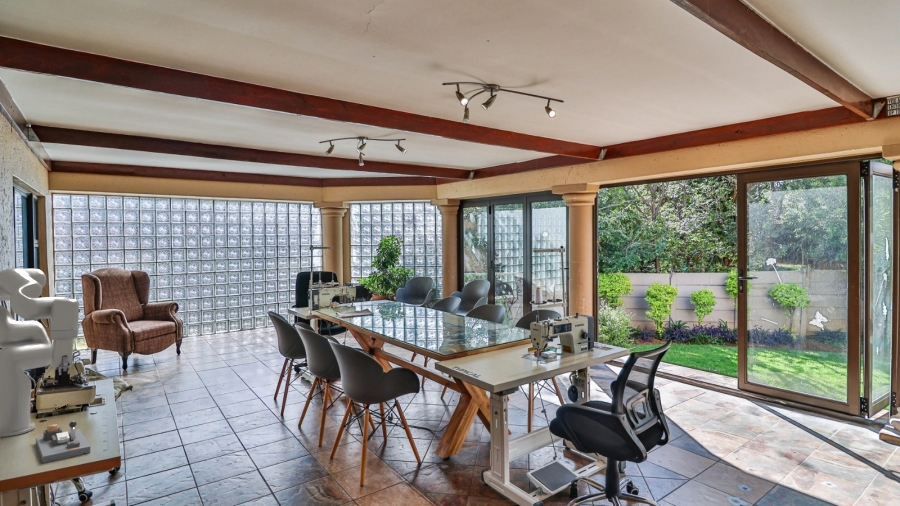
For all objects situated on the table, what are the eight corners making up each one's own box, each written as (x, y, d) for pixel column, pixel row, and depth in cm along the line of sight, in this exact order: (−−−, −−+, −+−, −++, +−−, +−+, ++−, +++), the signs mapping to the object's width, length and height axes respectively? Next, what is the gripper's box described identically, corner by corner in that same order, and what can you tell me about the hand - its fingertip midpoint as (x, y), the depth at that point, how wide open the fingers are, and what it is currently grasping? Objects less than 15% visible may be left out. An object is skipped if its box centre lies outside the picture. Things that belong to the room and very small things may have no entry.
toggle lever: (69, 440, 156) (68, 422, 158) (76, 439, 158) (76, 421, 160) (70, 439, 155) (69, 421, 157) (77, 438, 156) (77, 420, 158)
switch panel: (35, 443, 163) (36, 430, 163) (79, 434, 171) (79, 422, 172) (42, 463, 148) (43, 448, 148) (90, 452, 156) (90, 438, 156)
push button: (46, 434, 163) (46, 425, 163) (57, 431, 165) (57, 423, 165) (47, 436, 161) (47, 427, 161) (58, 434, 163) (59, 425, 163)
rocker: (56, 436, 160) (56, 433, 160) (67, 434, 162) (67, 431, 162) (57, 443, 157) (58, 440, 157) (69, 441, 159) (69, 437, 159)
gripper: (48, 331, 168) (45, 379, 168) (52, 338, 155) (50, 390, 155) (74, 329, 173) (72, 376, 173) (80, 336, 161) (78, 386, 161)
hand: (61, 382), depth 164 cm, fingers open, 9 cm apart
